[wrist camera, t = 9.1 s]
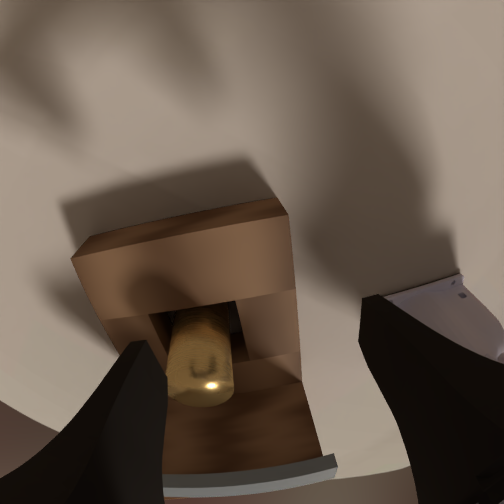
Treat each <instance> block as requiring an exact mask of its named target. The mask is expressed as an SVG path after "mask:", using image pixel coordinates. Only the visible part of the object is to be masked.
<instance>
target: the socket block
mask: <svg viewBox="0 0 504 504" xmlns="http://www.w3.org/2000/svg"><path fill="white" fill-rule="evenodd" d="M71 261H72V263H73V266H74V268H75V270H76V272H77V275H78V277H79V279H80V281H81V283H82V286H83V288H84V290H85V292H86V294H87V296H88V298H89V300H90V302H91V304H92V306H93V308H94V310H95V312H96V314H97V316H98V318H99V319H100V321H101V323H102V325H103V327H104V329H105V330H106V332H107V334H108V336H109V338H110V339H111V341H112V343H113V344H114V346H115V348H116V349H117V351H118V353H119V354H120V355H121V354H122V352H123V351H124V349H125V348H126V347H127V346H128V344H129V343H130V342H131V341H140V340H147V342H148V344H149V345H150V347H151V349H152V351H153V353H154V355H155V356H156V358H157V360H158V362H159V364H160V365H161V367H162V369H163V371H164V372H165V374H166V368H167V361H168V354H169V348H170V341H171V335H172V329H173V327H172V324H171V322H170V319H169V317H168V314H167V312H166V311H173V310H179V309H186V308H192V307H198V306H204V305H211V304H216V303H222V302H228V301H234V300H235V301H236V305H237V309H238V314H239V318H240V322H241V326H242V330H243V332H239V333H233V334H230V341H231V355H232V369H233V382H234V392H233V395H232V396H231V397H230V399H228V400H227V401H226V402H224V403H222V404H219V405H216V406H212V407H192V406H188V405H184V404H182V403H179V402H177V401H175V400H174V399H173V398H171V397H170V396H169V395H168V407H167V417H166V426H165V435H164V445H163V455H162V479H163V493H164V497H220V496H235V495H246V494H254V493H262V492H270V491H276V490H282V489H288V488H293V487H298V486H303V485H308V484H312V483H316V482H321V481H325V480H328V479H332V478H334V477H335V474H336V471H337V468H338V466H337V462H336V459H335V456H334V453H333V454H330V455H326V456H323V454H322V451H321V447H320V443H319V440H318V436H317V433H316V429H315V426H314V422H313V419H312V415H311V411H310V408H309V404H308V401H307V397H306V394H305V390H304V387H303V384H302V372H301V355H300V339H299V325H298V312H297V299H296V287H295V276H294V265H293V254H292V244H291V234H290V225H289V216H288V213H287V212H286V210H285V209H284V207H283V206H282V204H281V203H280V201H279V199H278V198H271V199H265V200H260V201H254V202H248V203H243V204H237V205H232V206H226V207H221V208H216V209H211V210H205V211H200V212H195V213H190V214H186V215H181V216H176V217H171V218H167V219H162V220H157V221H153V222H148V223H144V224H140V225H135V226H131V227H127V228H122V229H118V230H114V231H110V232H106V233H102V234H98V235H94V236H90V237H89V238H88V239H87V240H86V241H85V242H84V243H83V245H82V246H81V247H80V248H79V249H78V250H77V252H76V253H75V254H74V255H73V256H72V257H71Z"/></svg>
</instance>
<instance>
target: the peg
mask: <svg viewBox="0 0 504 504" xmlns="http://www.w3.org/2000/svg"><path fill="white" fill-rule="evenodd" d="M166 376H167V378H168V395H169V396H170V397H171V398H173V399H174V400H175V401H177V402H179V403H182V404H184V405H188V406H192V407H212V406H216V405H219V404H222V403H224V402H226V401H227V400H228V399H230V397H231V396H232V395H233V392H234V382H233V369H232V355H231V341H230V327H229V311H228V303H227V302H222V303H216V304H211V305H204V306H198V307H192V308H186V309H179V310H176V311H175V317H174V323H173V329H172V335H171V341H170V348H169V354H168V361H167V368H166Z"/></svg>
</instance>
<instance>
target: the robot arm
mask: <svg viewBox="0 0 504 504" xmlns="http://www.w3.org/2000/svg"><path fill="white" fill-rule="evenodd" d="M463 281H464V276H463V275H462V274H457V275H454V276H451V277H448V278H445V279H442V280H439V281H436V282H433V283H429V284H426V285H423V286H420V287H416V288H413V289H410V290H406V291H403V292H399V293H396V294H392V295H389V296H385V297H382V296H381V295H379V294H376V295H373V296H369V297H365V298H362V307H361V319H360V329H359V339H358V342H359V345H360V348H361V350H362V353H363V356H364V358H365V361H366V363H367V366H368V368H369V370H370V371H371V373H372V375H373V377H374V379H375V381H376V383H377V385H378V387H379V388H380V390H381V392H382V394H383V396H384V398H385V400H386V402H387V404H388V406H389V407H390V409H391V411H392V413H393V415H394V418H395V420H396V422H397V425H398V427H399V430H400V433H401V436H402V439H403V442H404V445H405V448H406V451H407V454H408V458H409V461H410V465H411V469H412V473H413V477H414V481H415V486H416V491H417V497H418V503H419V504H504V330H503V327H502V325H501V324H500V322H499V321H498V319H497V318H496V317H495V316H494V315H493V314H492V313H491V312H490V311H489V310H488V309H487V308H486V307H485V306H484V305H483V304H482V303H481V302H480V301H479V300H478V299H477V298H476V297H475V296H474V295H473V294H472V293H471V292H470V291H469V290H468V289H467V288H466V287H465V286H464V285H463ZM167 407H168V378H167V376H166V374H165V372H164V371H163V369H162V367H161V365H160V364H159V362H158V360H157V358H156V356H155V355H154V353H153V351H152V349H151V347H150V345H149V344H148V342H147V340H140V341H131V342H130V343H129V344H128V346H127V347H126V348H125V349H124V351H123V352H122V354H121V355H120V356H119V358H118V359H117V361H116V362H115V363H114V365H113V366H112V368H111V369H110V370H109V372H108V373H107V375H106V376H105V377H104V379H103V380H102V382H101V383H100V384H99V386H98V387H97V389H96V390H95V391H94V392H93V394H92V395H91V396H90V398H89V399H88V400H87V401H86V403H85V404H84V405H83V407H82V408H81V409H80V410H79V412H78V413H77V414H76V415H75V416H74V418H73V419H72V420H71V421H70V422H69V423H68V424H67V425H66V426H65V427H64V429H63V430H62V431H61V432H60V433H59V434H58V435H57V436H56V437H55V438H54V439H53V440H51V441H50V442H49V443H48V444H47V445H46V446H45V447H44V448H43V449H42V450H41V451H39V452H38V453H37V454H36V455H34V456H33V457H32V458H31V459H29V460H28V461H27V462H25V463H24V464H23V465H21V466H20V467H18V468H17V469H15V470H14V471H12V472H10V473H9V474H7V475H5V476H3V477H2V478H0V504H165V503H164V493H163V479H162V455H163V445H164V435H165V426H166V417H167Z"/></svg>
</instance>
